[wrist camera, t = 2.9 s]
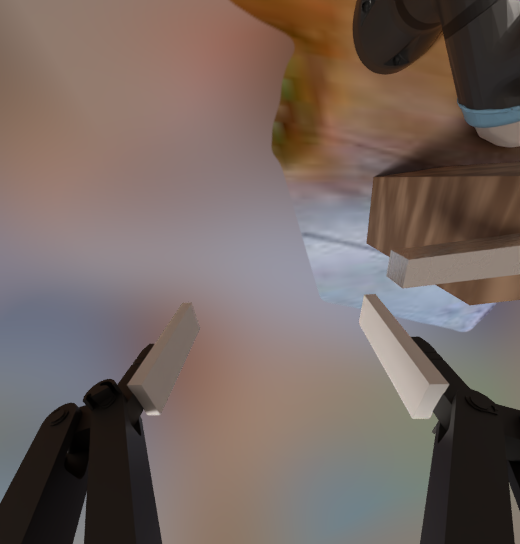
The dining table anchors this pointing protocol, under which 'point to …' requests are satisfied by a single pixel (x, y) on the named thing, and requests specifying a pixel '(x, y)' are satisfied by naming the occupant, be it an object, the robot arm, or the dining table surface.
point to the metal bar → (455, 261)
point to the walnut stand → (449, 216)
